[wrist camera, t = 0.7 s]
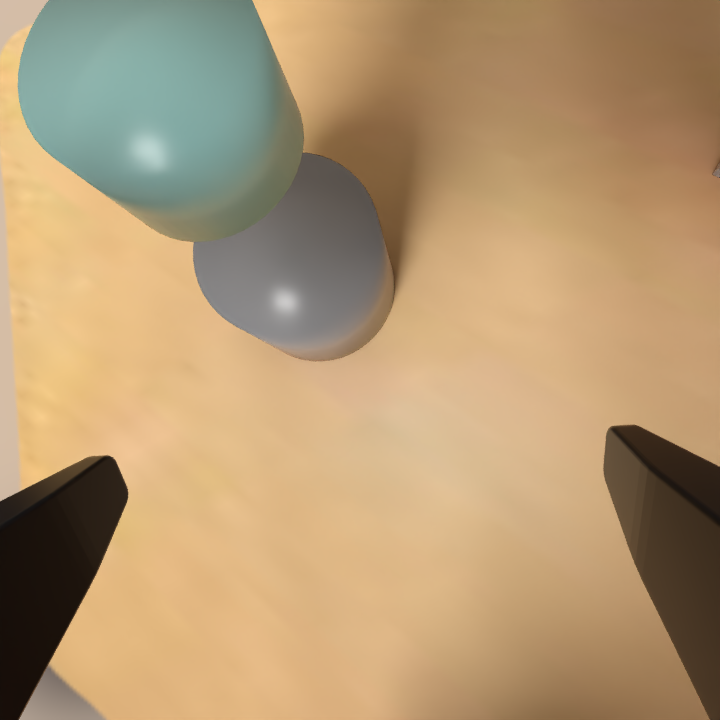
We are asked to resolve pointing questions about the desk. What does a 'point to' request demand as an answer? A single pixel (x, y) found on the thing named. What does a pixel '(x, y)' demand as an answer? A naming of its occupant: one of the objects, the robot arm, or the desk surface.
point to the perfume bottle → (717, 171)
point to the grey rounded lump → (305, 268)
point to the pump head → (165, 109)
